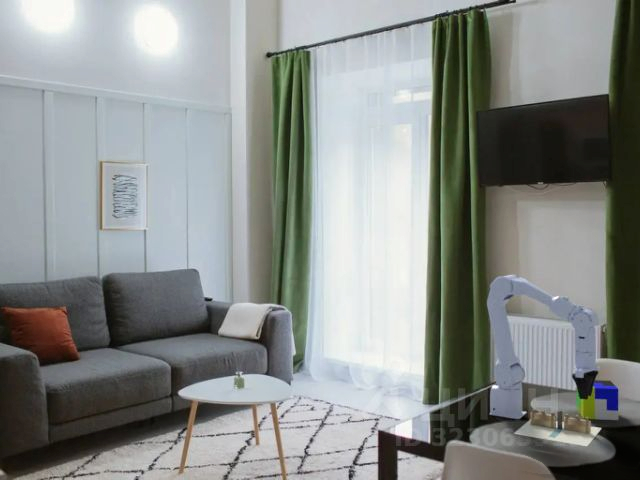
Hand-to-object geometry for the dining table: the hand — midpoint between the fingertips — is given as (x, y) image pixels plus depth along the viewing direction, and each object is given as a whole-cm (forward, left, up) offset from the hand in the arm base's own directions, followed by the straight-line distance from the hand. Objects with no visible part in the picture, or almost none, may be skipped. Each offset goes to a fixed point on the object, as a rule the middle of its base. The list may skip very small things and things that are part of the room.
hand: (585, 397), depth 191 cm
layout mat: (-6, -7, -9) cm, 13 cm away
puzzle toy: (0, +15, -10) cm, 18 cm away
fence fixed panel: (-10, -5, -9) cm, 14 cm away
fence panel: (-1, -5, -9) cm, 10 cm away
